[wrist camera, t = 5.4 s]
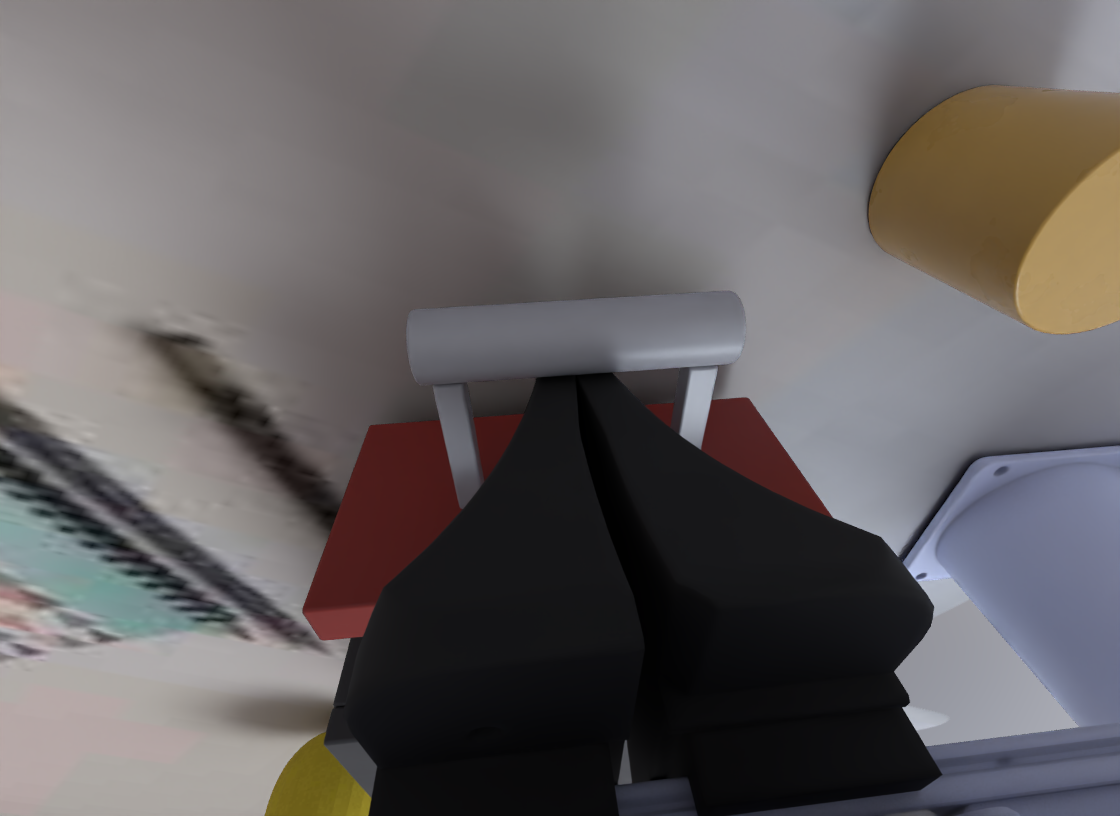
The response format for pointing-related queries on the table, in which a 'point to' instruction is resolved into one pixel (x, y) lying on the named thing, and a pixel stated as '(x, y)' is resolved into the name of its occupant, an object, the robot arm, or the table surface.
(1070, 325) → the yellow wooden cylinder
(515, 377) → the drawer
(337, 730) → the dark grey box
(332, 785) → the lemon
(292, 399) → the table surface
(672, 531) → the robot arm
